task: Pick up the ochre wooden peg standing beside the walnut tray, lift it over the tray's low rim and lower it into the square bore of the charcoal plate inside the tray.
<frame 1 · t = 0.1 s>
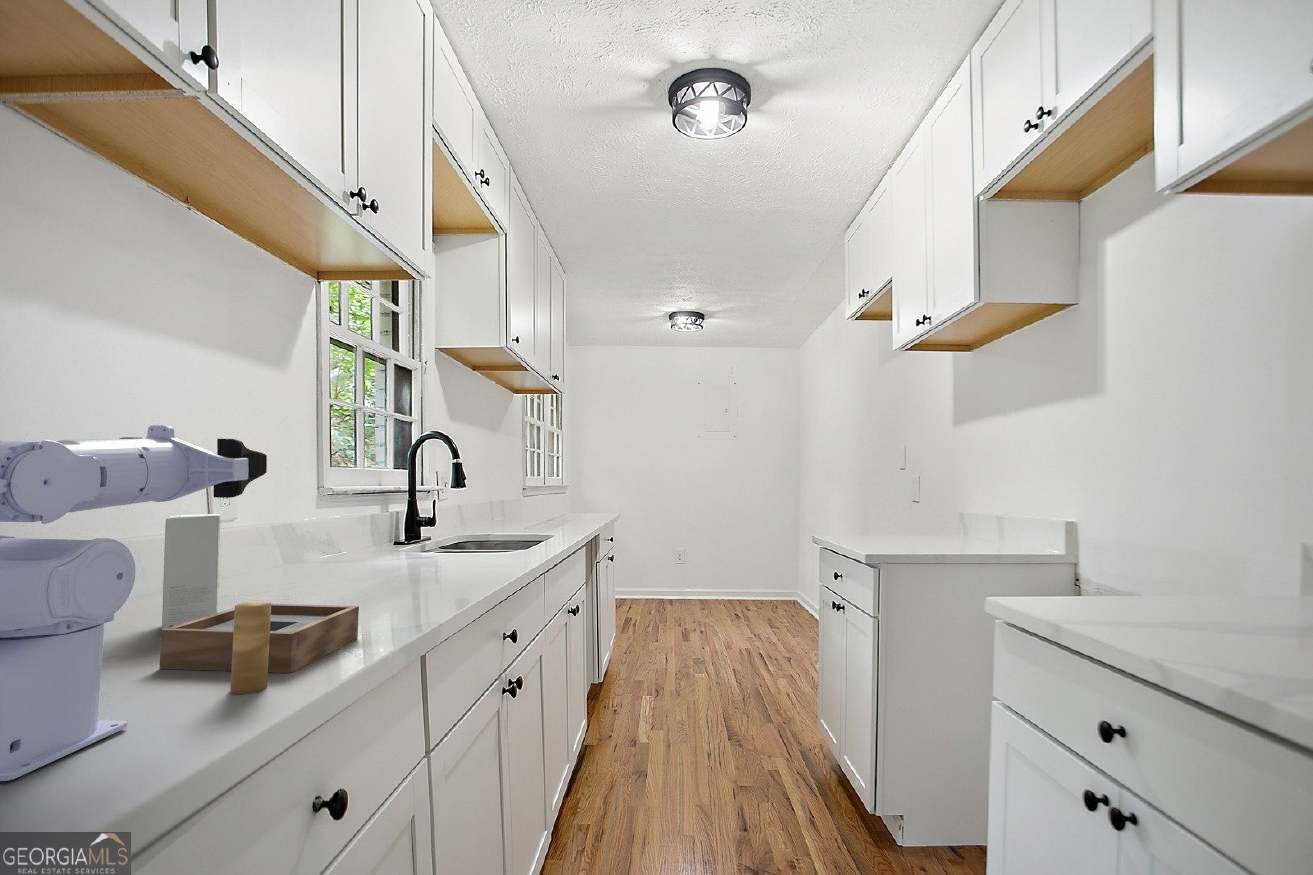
hand: (228, 463, 69), 22 cm above the worktop, tool horizontal, fingers open, 7 cm apart
tray: (267, 652, 74), on the worktop
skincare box: (189, 629, 85), on the worktop
peg: (248, 688, 62), on the worktop
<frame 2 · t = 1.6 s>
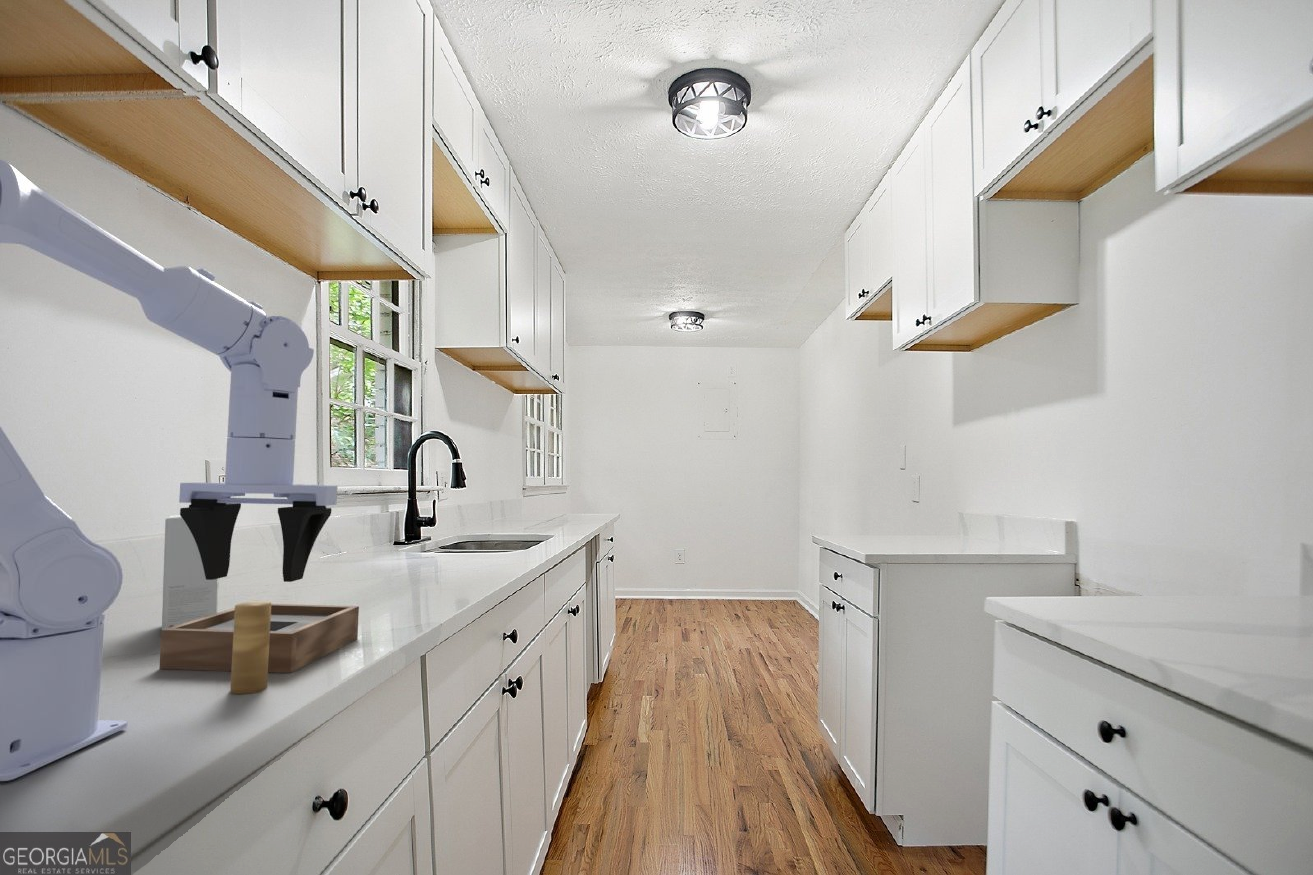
hand: (254, 579, 63), 10 cm above the worktop, tool pointing down, fingers open, 7 cm apart
nothing on the worktop moved.
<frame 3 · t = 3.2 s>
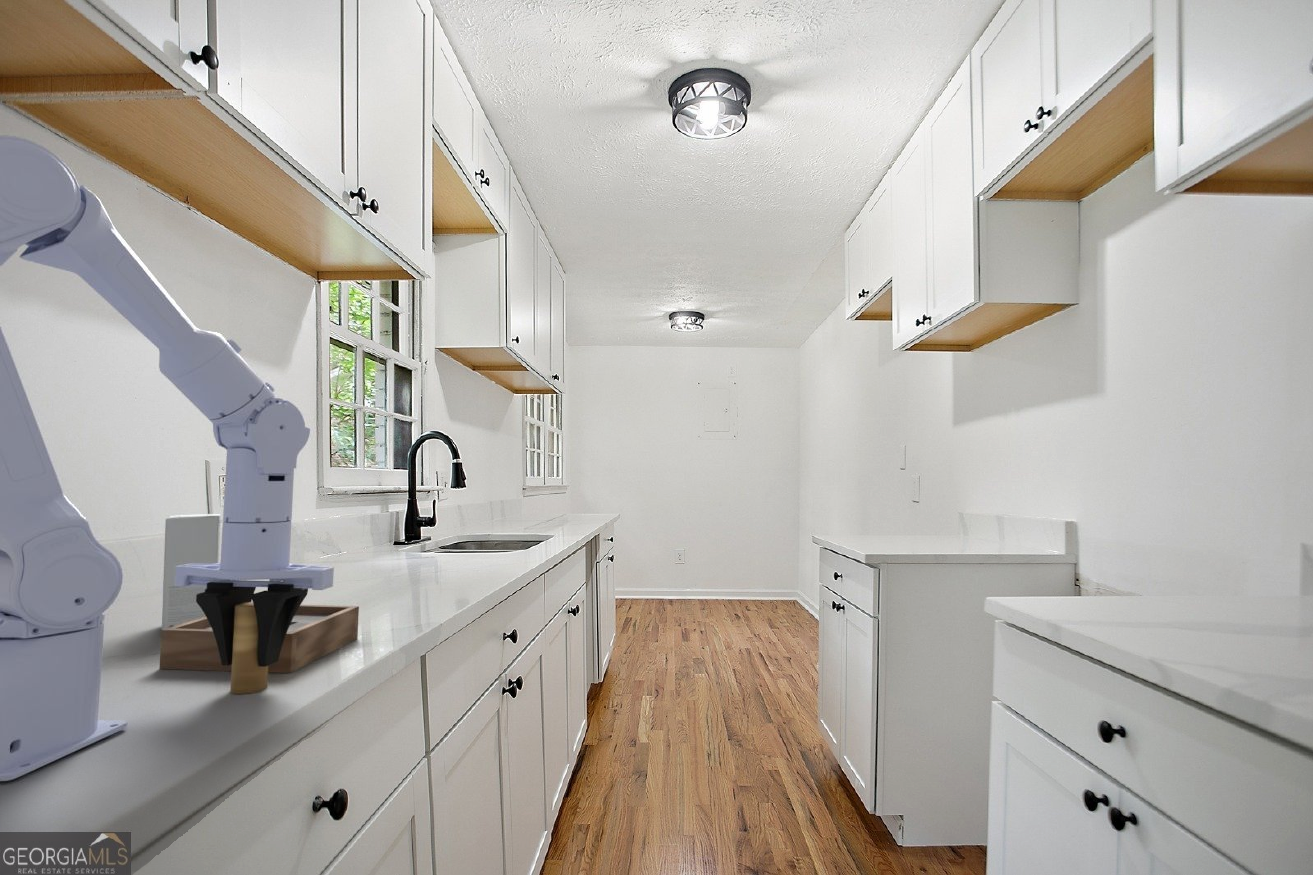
hand: (250, 663, 62), 2 cm above the worktop, tool pointing down, fingers closed on peg, 3 cm apart
peg: (249, 688, 62), on the worktop, touching gripper
everything else where it was.
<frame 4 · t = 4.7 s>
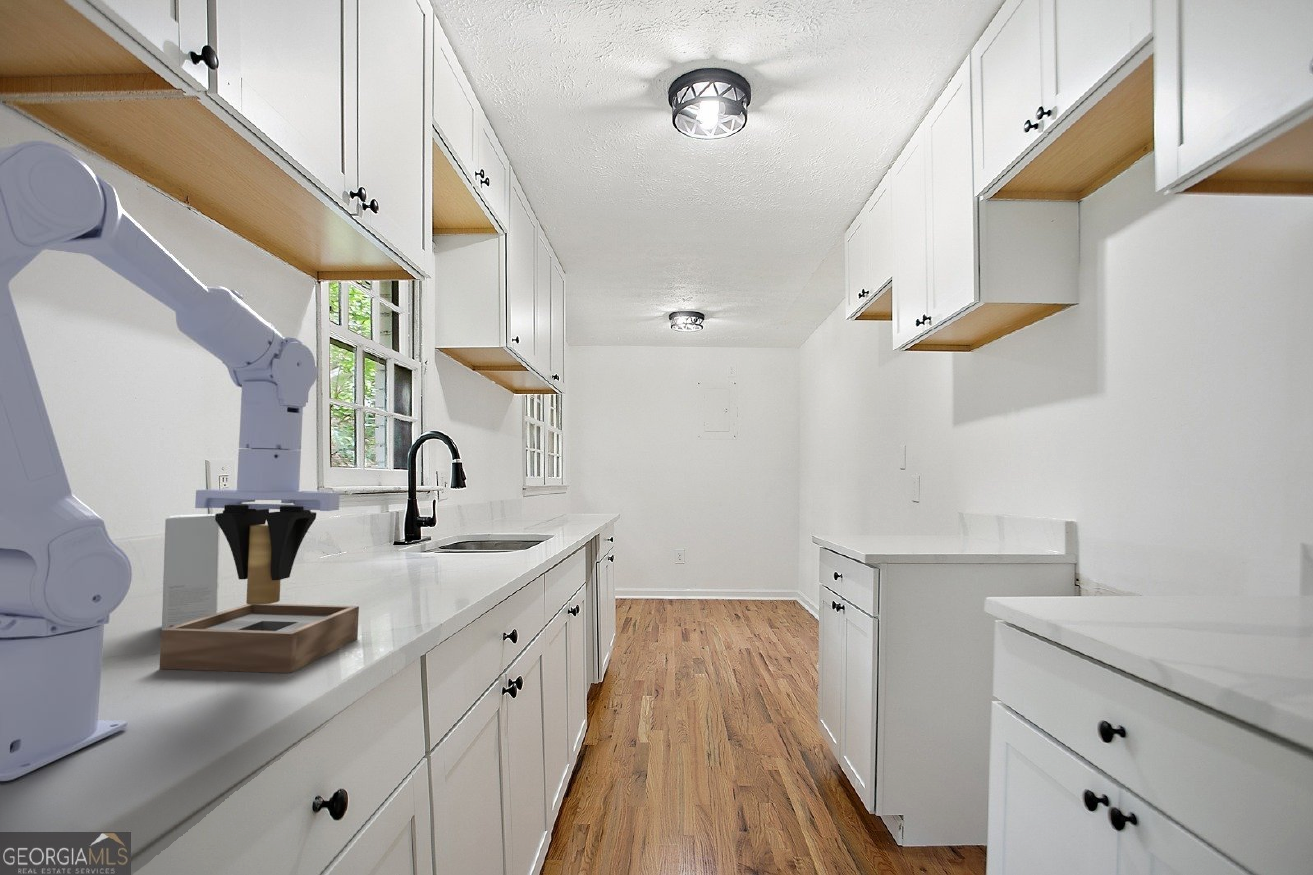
hand: (264, 578, 68), 10 cm above the worktop, tool pointing down, fingers closed on peg, 3 cm apart
peg: (263, 601, 68), point 7 cm above the worktop, touching gripper
everything else where it was.
when the fingers open (4 cm above the worktop, at t = 6.7 s): peg stays where it is, resting on tray.
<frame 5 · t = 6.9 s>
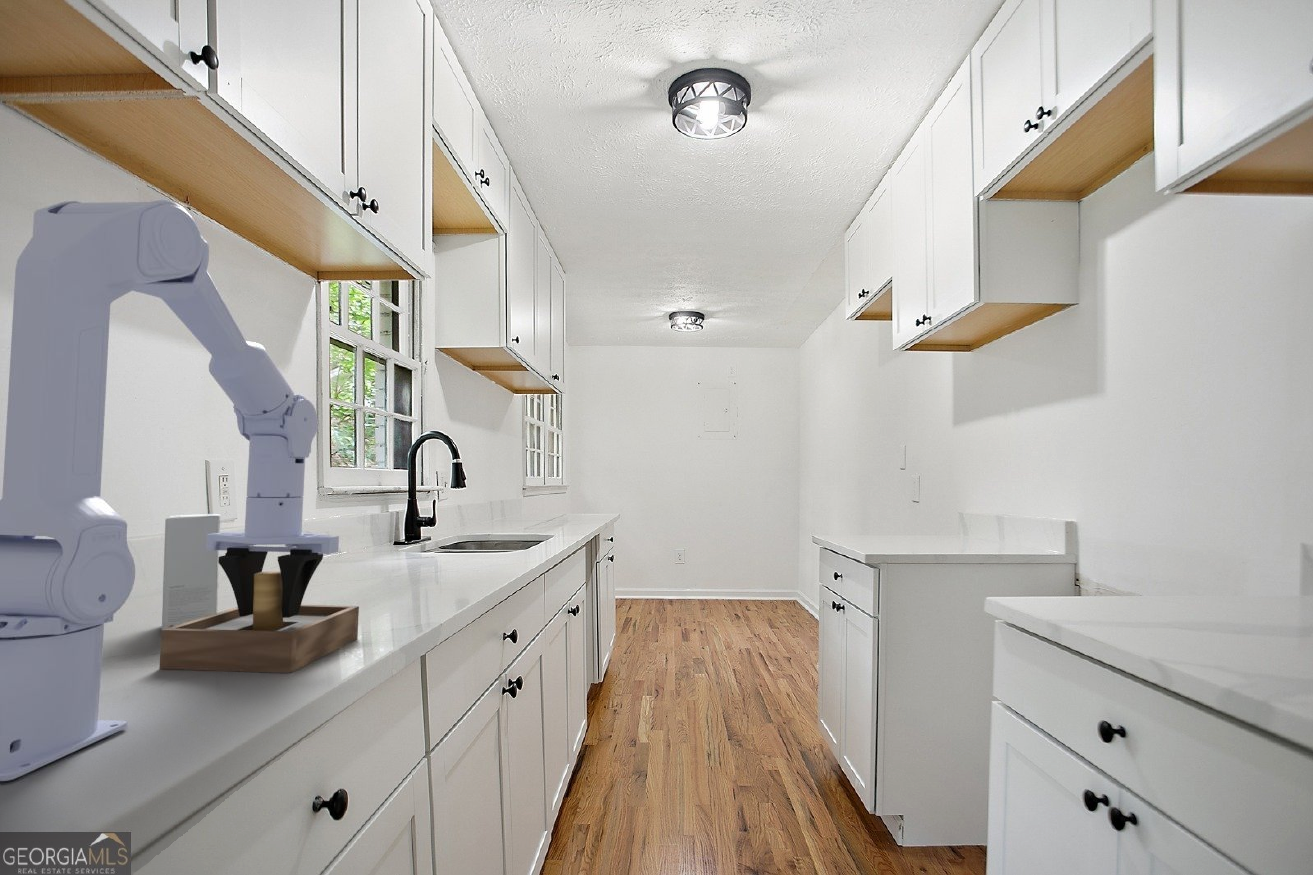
hand: (269, 615, 75), 4 cm above the worktop, tool pointing down, fingers open, 4 cm apart
peg: (267, 643, 74), point 1 cm above the worktop, touching tray
everything else where it was.
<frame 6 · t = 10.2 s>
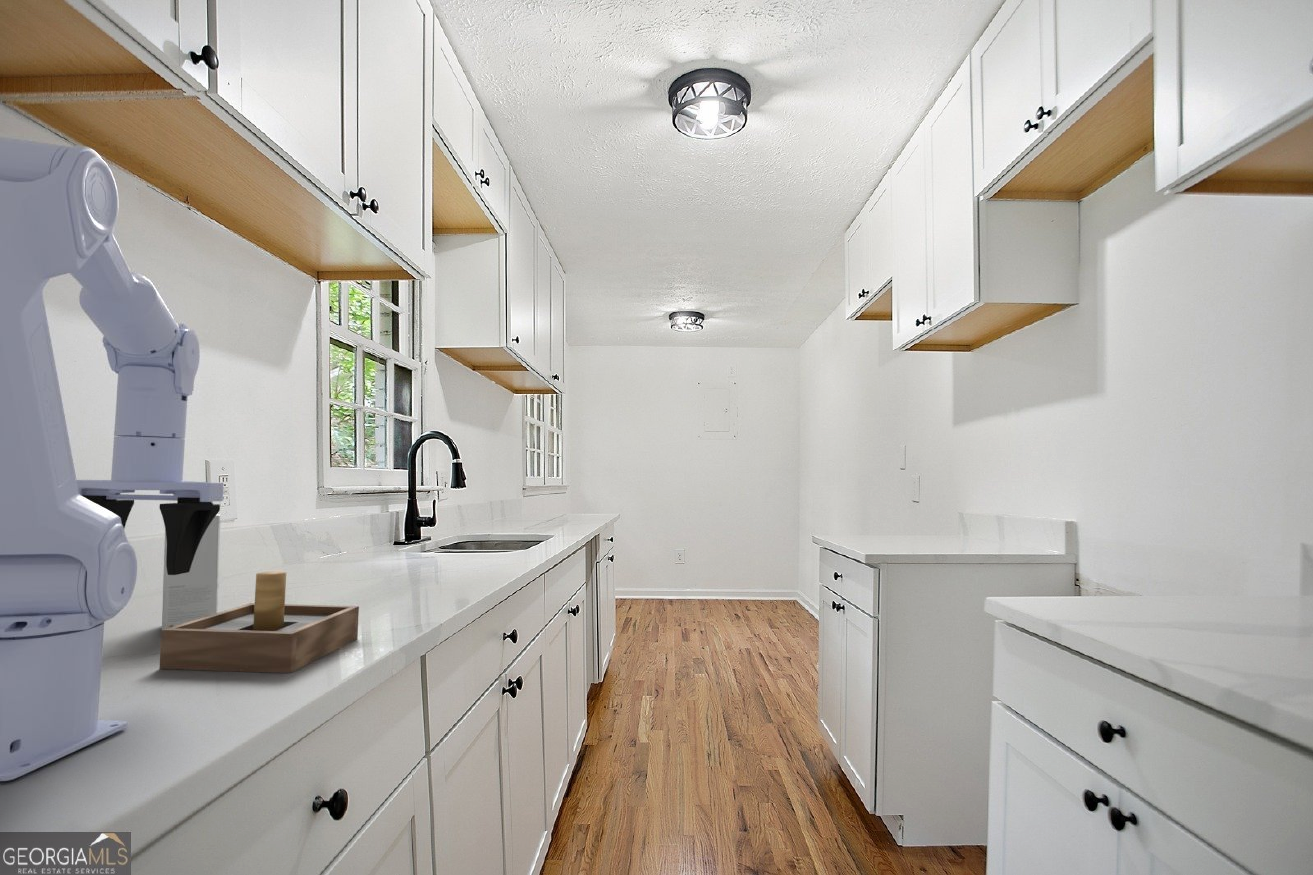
hand: (141, 572, 65), 10 cm above the worktop, tool pointing down, fingers open, 7 cm apart
nothing on the worktop moved.
at the end: peg 0.0 cm off-centre on the tray, point 1.0 cm above the tray's base; peg tilted 0°; the gripper is holding nothing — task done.
